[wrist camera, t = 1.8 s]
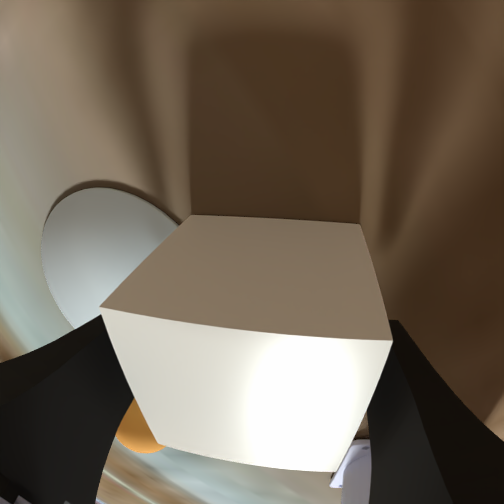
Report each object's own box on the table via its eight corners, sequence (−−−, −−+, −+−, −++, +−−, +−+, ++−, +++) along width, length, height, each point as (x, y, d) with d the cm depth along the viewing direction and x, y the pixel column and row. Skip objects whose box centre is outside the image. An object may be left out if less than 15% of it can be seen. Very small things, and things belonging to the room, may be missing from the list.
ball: (177, 387, 16) (151, 441, 12) (188, 423, 17) (168, 470, 14) (120, 373, 16) (90, 419, 13) (137, 409, 18) (113, 451, 15)
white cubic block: (359, 223, 10) (392, 340, 5) (338, 353, 12) (335, 471, 7) (190, 215, 11) (98, 306, 6) (205, 339, 13) (158, 443, 9)
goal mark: (212, 184, 10) (210, 186, 10) (230, 385, 15) (229, 388, 14) (25, 192, 12) (22, 193, 12) (76, 349, 16) (74, 351, 16)
